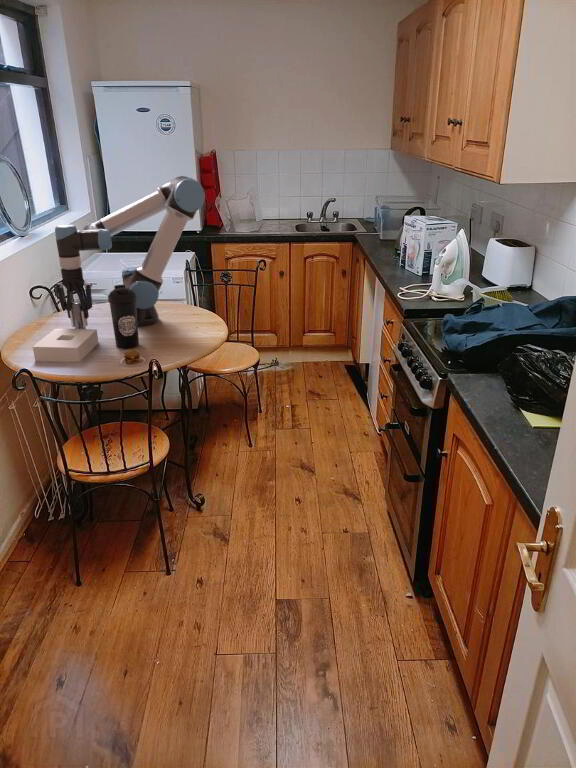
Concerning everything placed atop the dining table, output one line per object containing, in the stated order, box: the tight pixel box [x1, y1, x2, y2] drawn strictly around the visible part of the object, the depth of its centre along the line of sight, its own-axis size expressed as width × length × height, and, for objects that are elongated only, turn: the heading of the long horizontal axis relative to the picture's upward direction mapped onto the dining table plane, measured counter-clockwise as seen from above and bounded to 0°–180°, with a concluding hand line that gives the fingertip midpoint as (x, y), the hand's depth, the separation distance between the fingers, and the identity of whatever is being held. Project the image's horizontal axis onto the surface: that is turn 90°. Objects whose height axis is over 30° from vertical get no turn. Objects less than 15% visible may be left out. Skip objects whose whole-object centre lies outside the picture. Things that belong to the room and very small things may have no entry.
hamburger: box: [119, 348, 146, 367], centre depth 199 cm, size 12×12×6 cm
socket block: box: [32, 328, 99, 363], centre depth 207 cm, size 16×20×6 cm
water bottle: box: [107, 284, 140, 350], centre depth 210 cm, size 10×10×23 cm
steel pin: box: [71, 301, 87, 329], centre depth 220 cm, size 4×4×14 cm
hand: (79, 325), depth 221 cm, fingers closed on steel pin, 4 cm apart
